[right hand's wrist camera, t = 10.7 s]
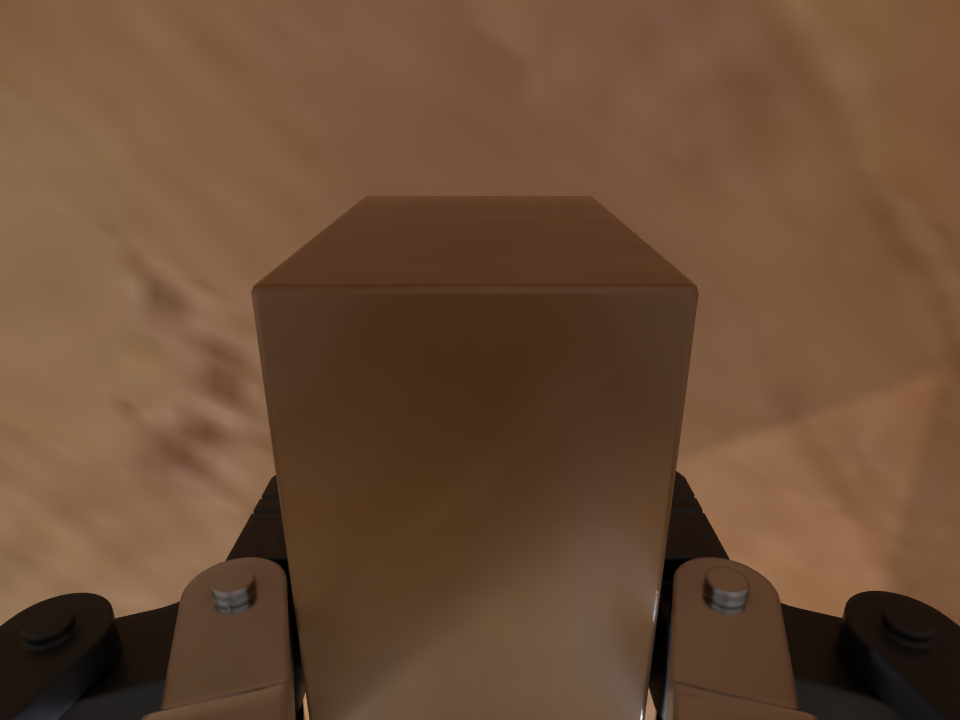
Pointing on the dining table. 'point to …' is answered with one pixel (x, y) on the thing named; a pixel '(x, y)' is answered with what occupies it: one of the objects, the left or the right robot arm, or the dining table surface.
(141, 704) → the right robot arm
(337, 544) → the beam
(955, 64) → the dining table surface
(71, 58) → the dining table surface
